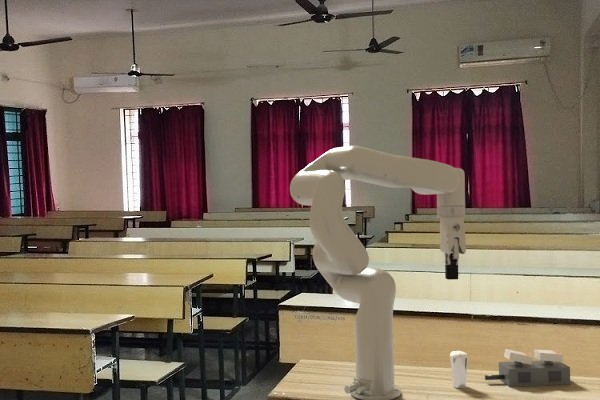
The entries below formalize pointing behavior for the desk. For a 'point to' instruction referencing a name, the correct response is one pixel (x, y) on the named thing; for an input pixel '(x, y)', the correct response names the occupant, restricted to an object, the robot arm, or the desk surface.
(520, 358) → the rocker
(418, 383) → the desk surface
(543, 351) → the rocker
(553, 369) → the rocker switch panel
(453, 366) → the milkshake
